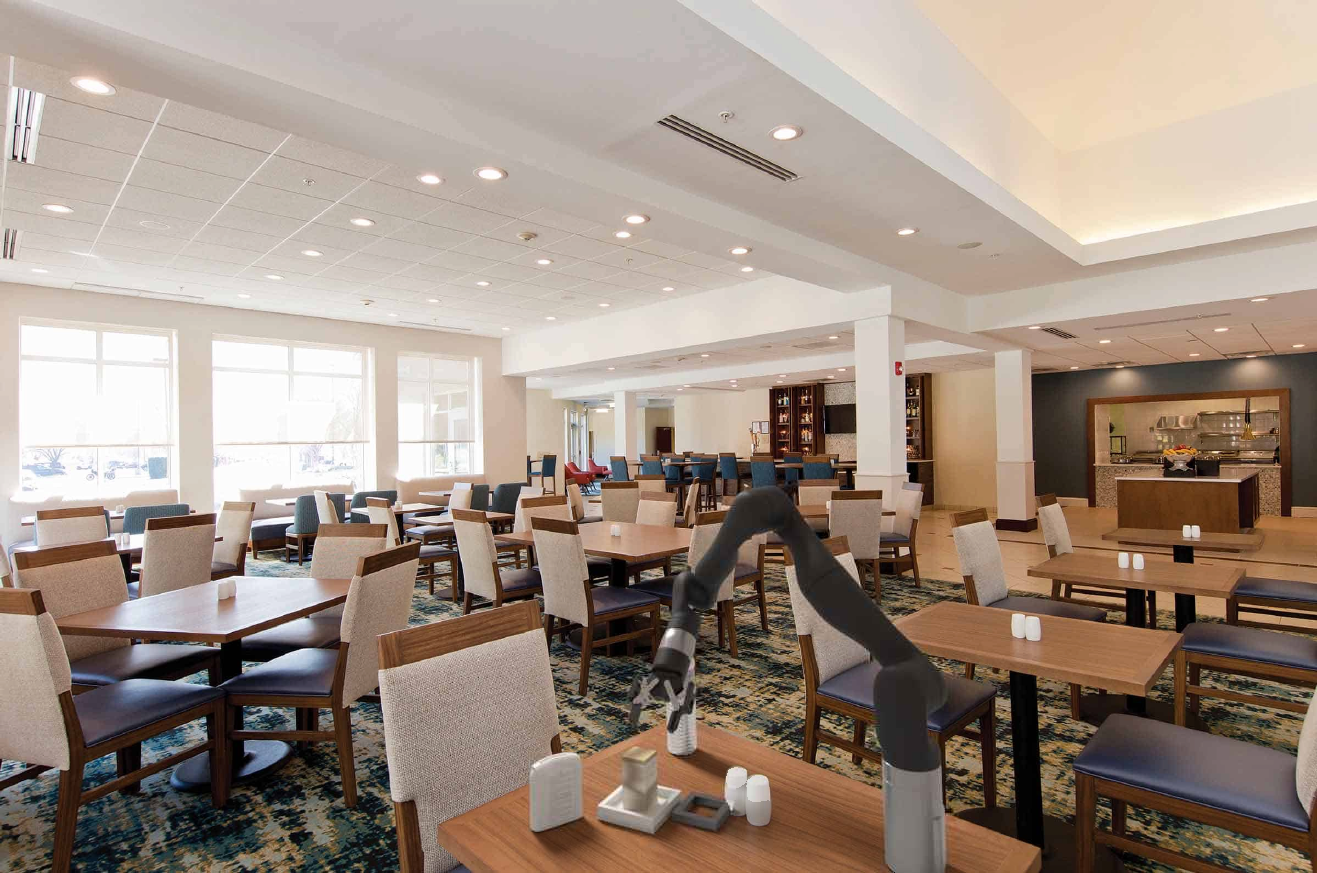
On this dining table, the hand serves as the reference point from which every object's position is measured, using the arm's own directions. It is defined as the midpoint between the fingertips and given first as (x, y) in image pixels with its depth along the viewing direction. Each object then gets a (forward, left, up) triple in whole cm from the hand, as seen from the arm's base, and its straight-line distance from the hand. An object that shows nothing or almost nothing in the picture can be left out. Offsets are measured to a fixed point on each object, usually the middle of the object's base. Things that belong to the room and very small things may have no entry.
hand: (650, 728), depth 136 cm
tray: (0, +5, -14) cm, 15 cm away
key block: (0, +5, -13) cm, 14 cm away
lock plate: (-11, +1, -14) cm, 18 cm away
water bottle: (+5, -23, -14) cm, 27 cm away
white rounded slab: (+13, +15, -14) cm, 24 cm away
